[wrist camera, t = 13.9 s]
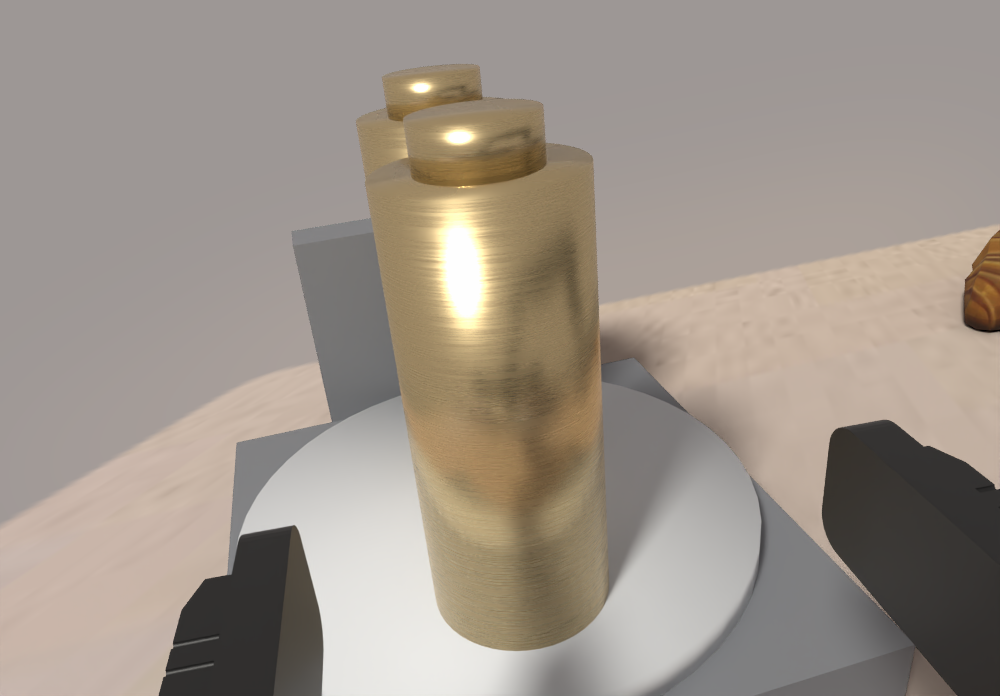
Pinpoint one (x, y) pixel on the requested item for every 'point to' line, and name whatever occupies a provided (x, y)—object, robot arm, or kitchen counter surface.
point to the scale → (630, 533)
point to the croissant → (984, 288)
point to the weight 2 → (499, 366)
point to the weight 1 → (412, 107)
